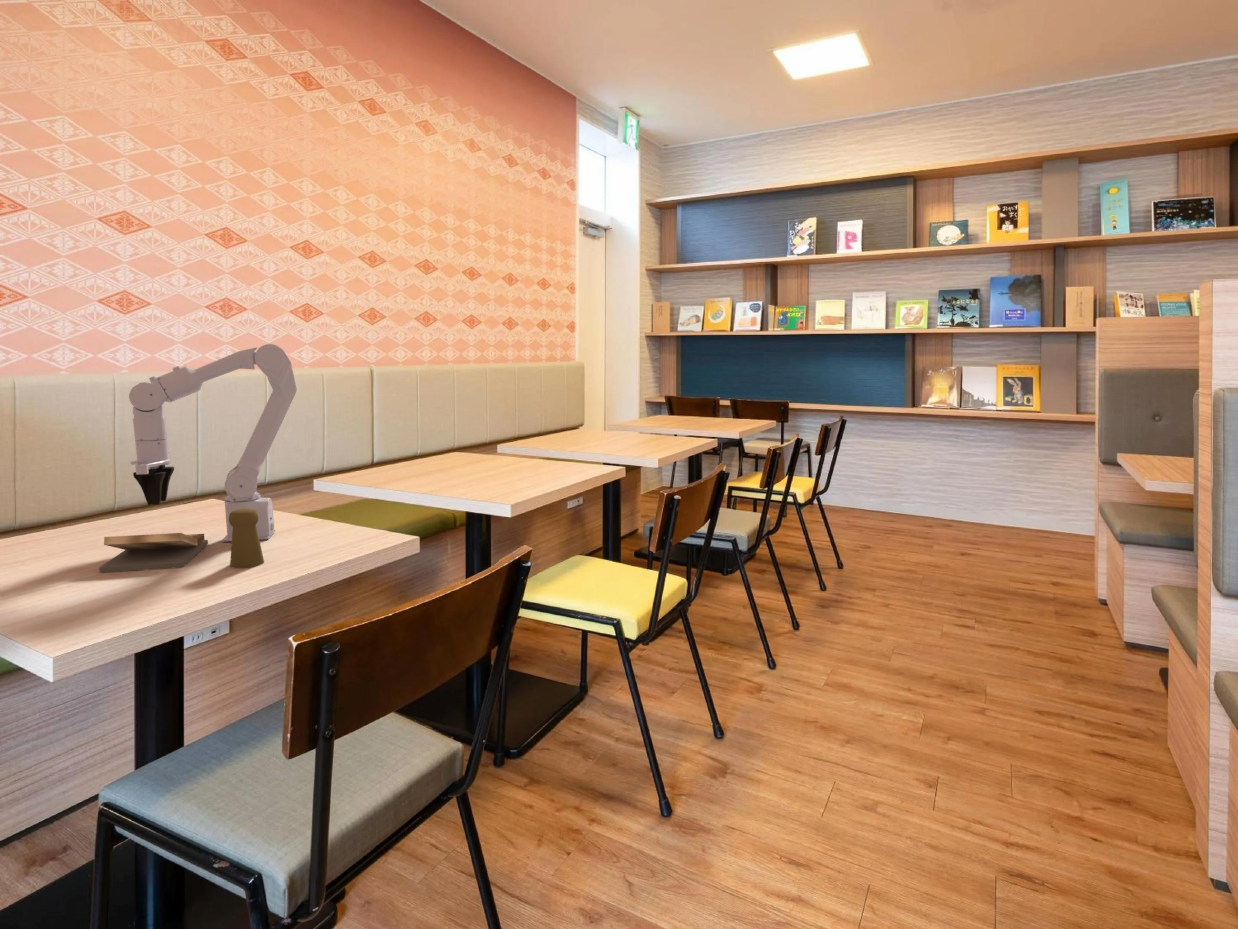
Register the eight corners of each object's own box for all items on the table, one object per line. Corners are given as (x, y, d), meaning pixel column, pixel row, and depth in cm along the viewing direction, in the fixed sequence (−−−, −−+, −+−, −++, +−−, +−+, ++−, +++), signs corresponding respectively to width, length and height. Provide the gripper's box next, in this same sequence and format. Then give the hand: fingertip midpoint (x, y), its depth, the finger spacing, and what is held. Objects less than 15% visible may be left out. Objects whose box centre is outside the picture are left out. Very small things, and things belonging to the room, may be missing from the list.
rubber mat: (208, 544, 158) (207, 539, 157) (182, 567, 140) (182, 562, 140) (134, 548, 154) (134, 543, 154) (99, 572, 137) (98, 567, 137)
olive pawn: (240, 559, 146) (236, 505, 144) (270, 559, 146) (266, 506, 144) (223, 567, 140) (219, 512, 138) (254, 568, 140) (250, 512, 138)
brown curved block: (204, 540, 157) (204, 533, 157) (198, 545, 153) (198, 538, 152) (136, 544, 153) (135, 537, 153) (128, 549, 149) (127, 542, 149)
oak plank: (197, 545, 152) (197, 538, 152) (180, 540, 141) (180, 532, 142) (126, 550, 148) (126, 542, 149) (103, 544, 138) (104, 537, 138)
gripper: (142, 436, 159) (147, 497, 161) (116, 444, 145) (122, 510, 147) (178, 435, 161) (183, 495, 163) (155, 443, 147) (161, 508, 149)
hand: (157, 502), depth 155 cm, fingers open, 3 cm apart
